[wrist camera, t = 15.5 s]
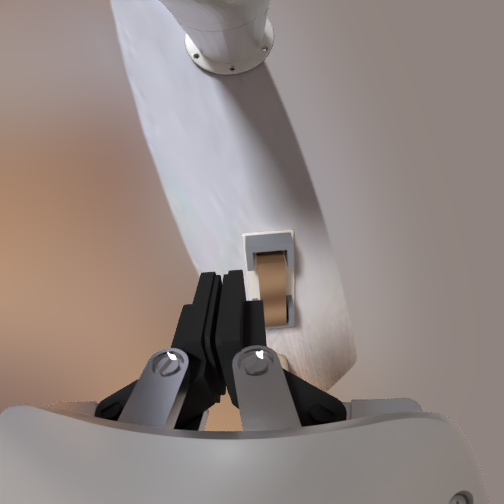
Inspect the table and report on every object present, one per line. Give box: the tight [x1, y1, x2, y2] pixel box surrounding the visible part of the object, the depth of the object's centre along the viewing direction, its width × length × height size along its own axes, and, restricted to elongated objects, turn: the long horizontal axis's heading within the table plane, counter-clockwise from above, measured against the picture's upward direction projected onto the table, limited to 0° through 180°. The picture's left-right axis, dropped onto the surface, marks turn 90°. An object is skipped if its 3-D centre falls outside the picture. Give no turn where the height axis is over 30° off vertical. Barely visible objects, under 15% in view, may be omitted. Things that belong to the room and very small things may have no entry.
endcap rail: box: [242, 230, 295, 329], centre depth 45 cm, size 16×8×5 cm, turn 5°
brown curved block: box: [256, 250, 287, 327], centre depth 44 cm, size 12×4×5 cm, turn 5°
